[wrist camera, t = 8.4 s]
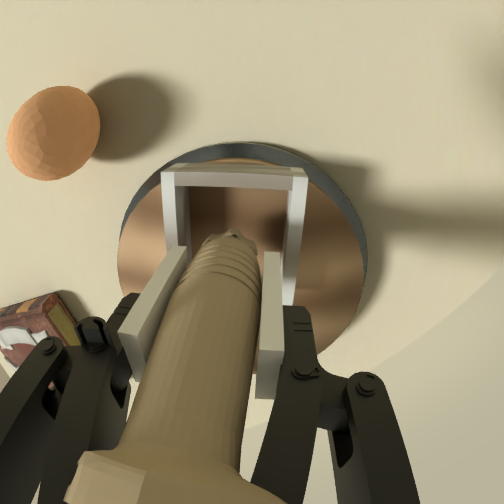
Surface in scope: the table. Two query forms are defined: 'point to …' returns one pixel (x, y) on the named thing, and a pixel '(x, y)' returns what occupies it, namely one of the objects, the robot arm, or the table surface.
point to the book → (34, 327)
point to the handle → (190, 393)
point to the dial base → (264, 154)
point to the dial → (252, 233)
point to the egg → (53, 133)
